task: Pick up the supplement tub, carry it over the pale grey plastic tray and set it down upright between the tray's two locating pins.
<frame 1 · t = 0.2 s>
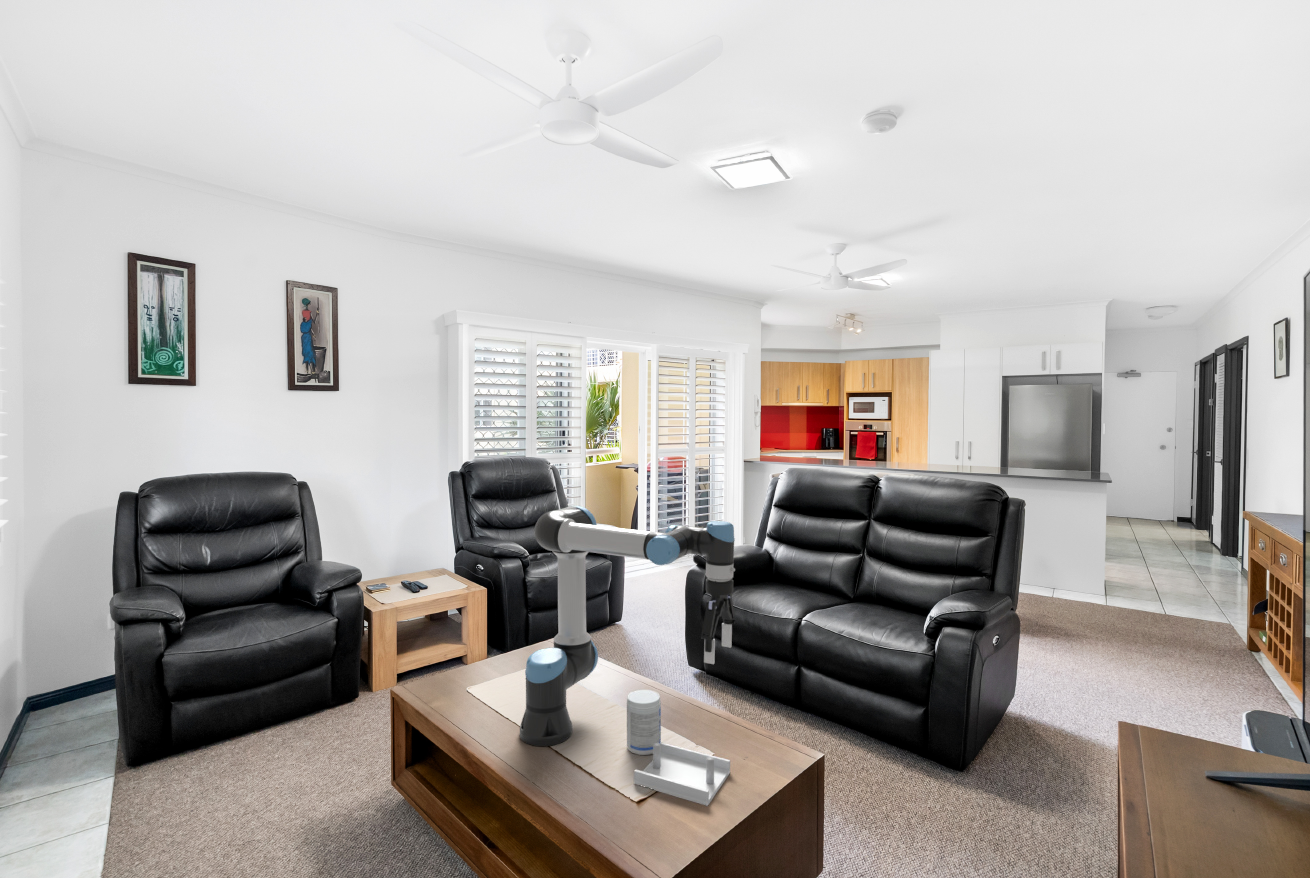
hand: (718, 654, 178), 28 cm above the table, fingers open, 13 cm apart
tray: (682, 778, 166), on the table
supplement tub: (643, 748, 181), on the table
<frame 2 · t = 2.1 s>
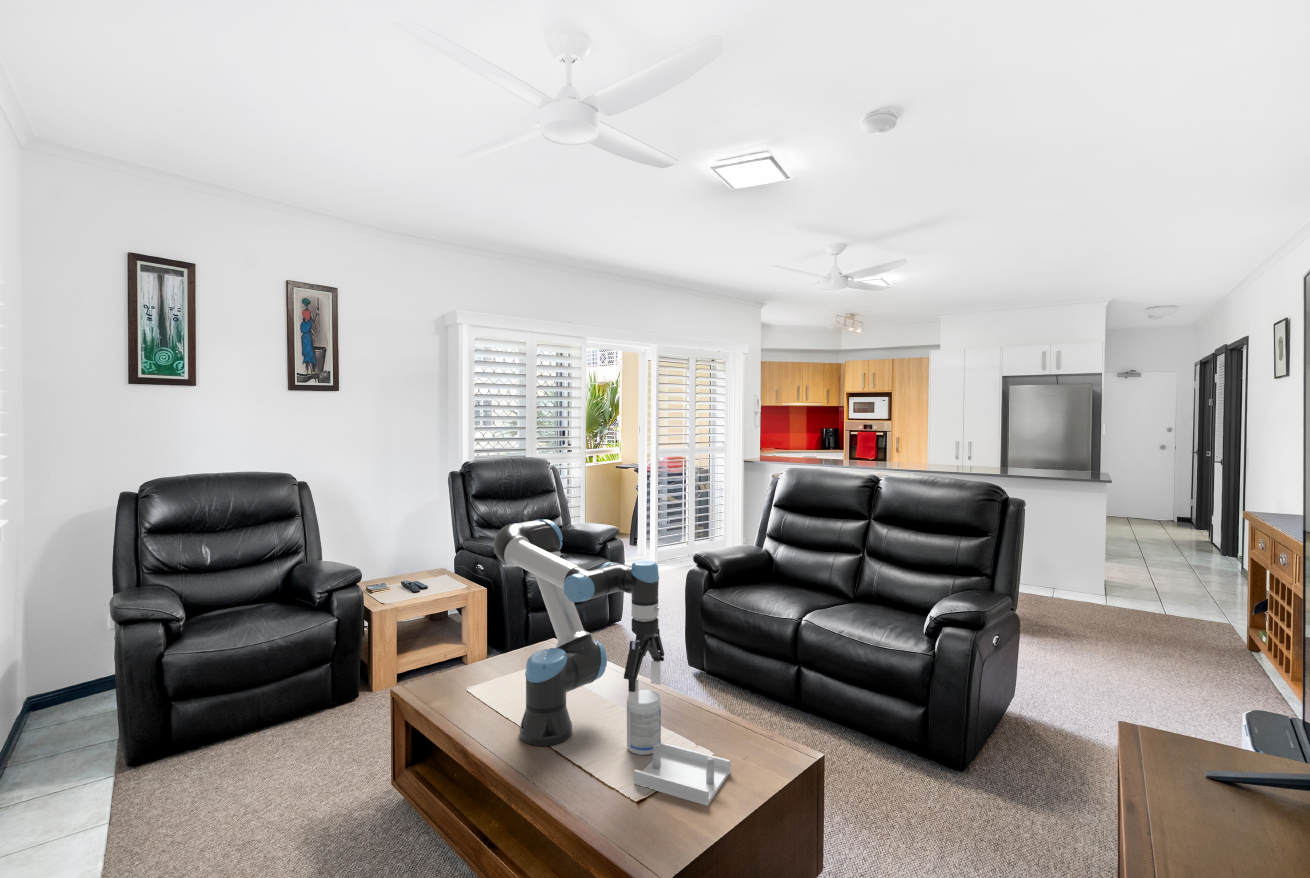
hand: (644, 692, 180), 16 cm above the table, fingers open, 13 cm apart
nothing on the table moved.
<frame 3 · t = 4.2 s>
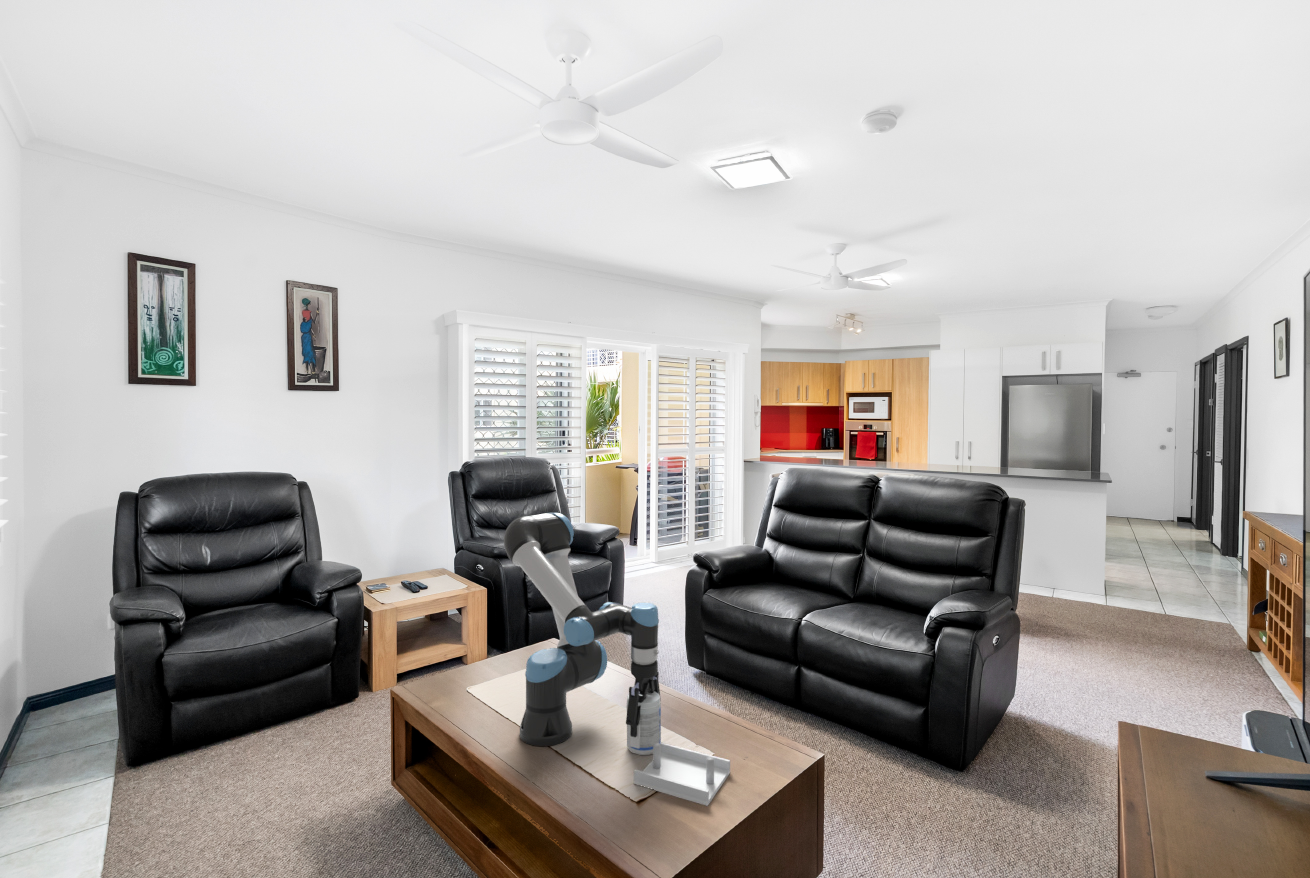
hand: (643, 738, 181), 3 cm above the table, fingers closed on supplement tub, 9 cm apart
supplement tub: (643, 748, 181), on the table, touching gripper
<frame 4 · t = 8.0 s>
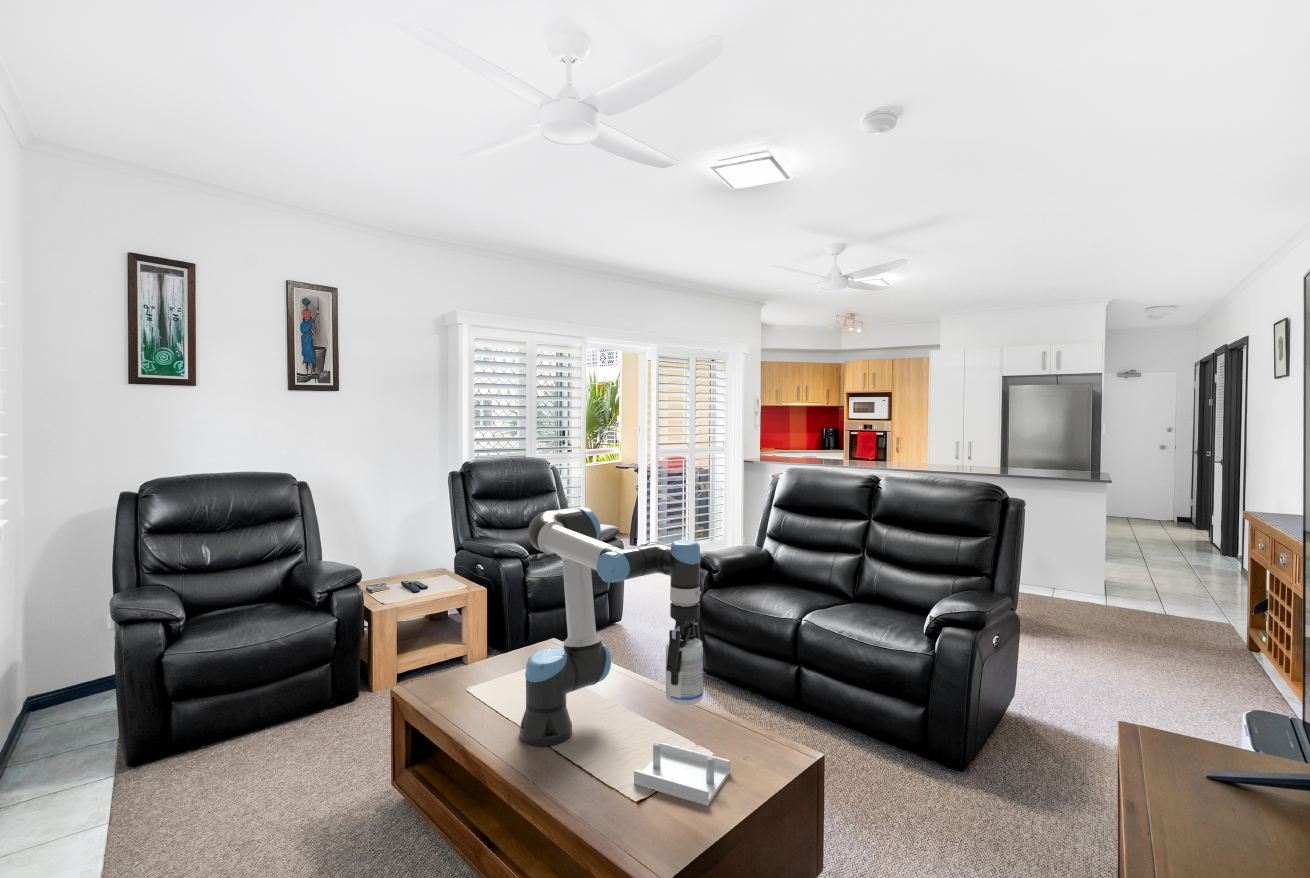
hand: (684, 688, 165), 24 cm above the table, fingers closed on supplement tub, 9 cm apart
supplement tub: (684, 699, 165), point 21 cm above the table, touching gripper
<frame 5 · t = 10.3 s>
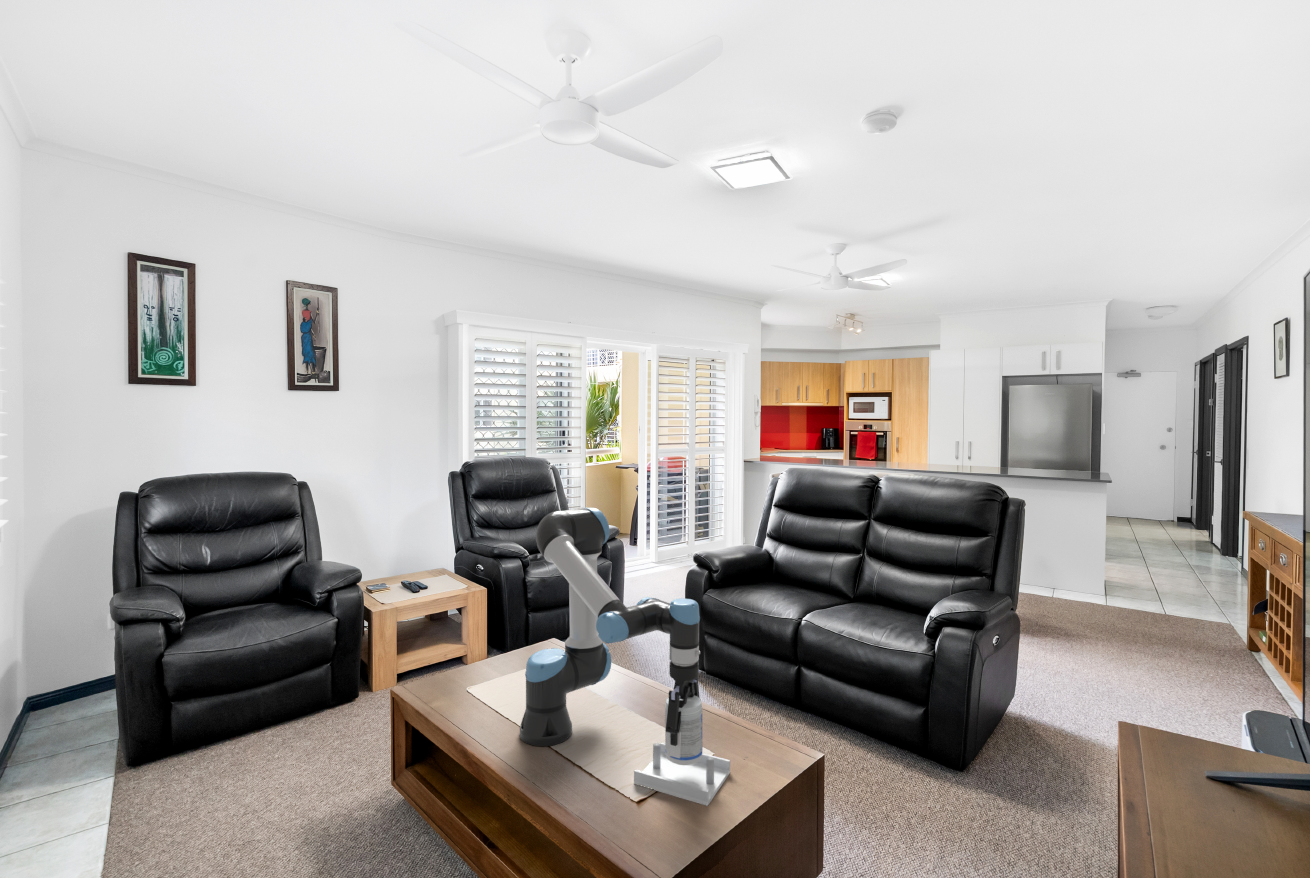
hand: (683, 747, 166), 8 cm above the table, fingers closed on supplement tub, 9 cm apart
supplement tub: (683, 757, 166), point 5 cm above the table, touching gripper
when the fingers open (5 cm above the table, at t = 12.1 s): supplement tub drops 1 cm, resting on tray.
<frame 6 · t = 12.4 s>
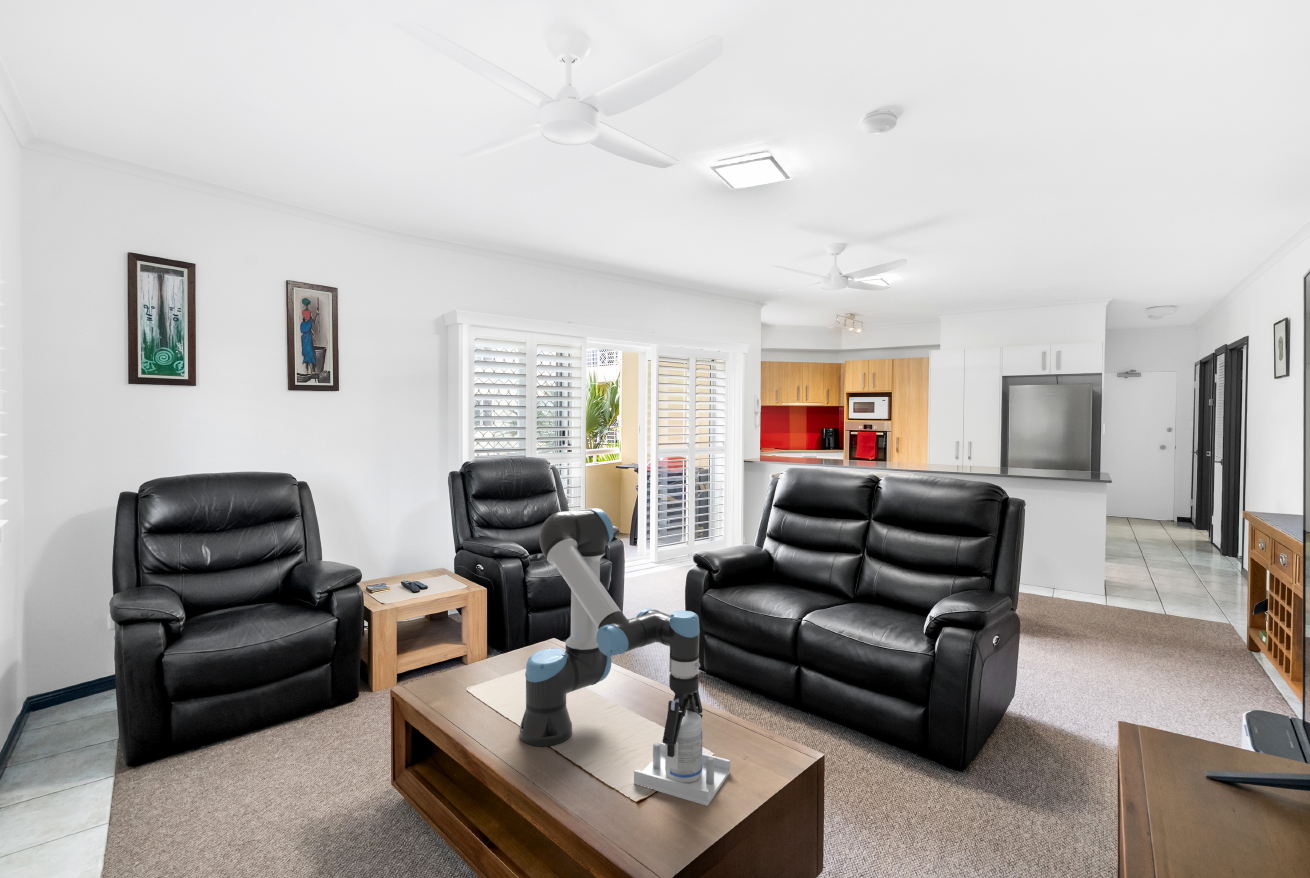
hand: (683, 755, 166), 6 cm above the table, fingers open, 13 cm apart
supplement tub: (683, 774, 166), point 1 cm above the table, touching tray
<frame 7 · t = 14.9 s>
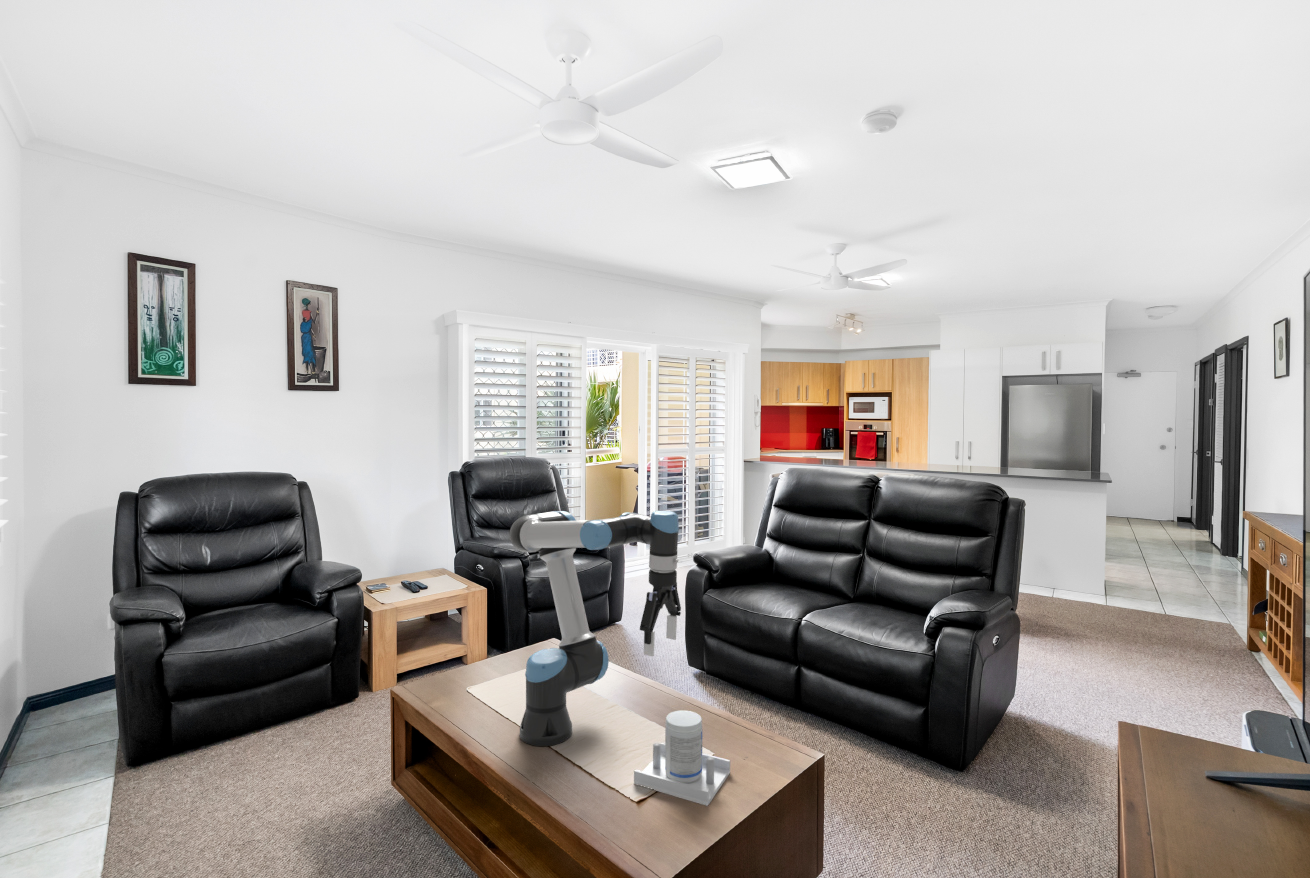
hand: (660, 646, 175), 31 cm above the table, fingers open, 13 cm apart
nothing on the table moved.
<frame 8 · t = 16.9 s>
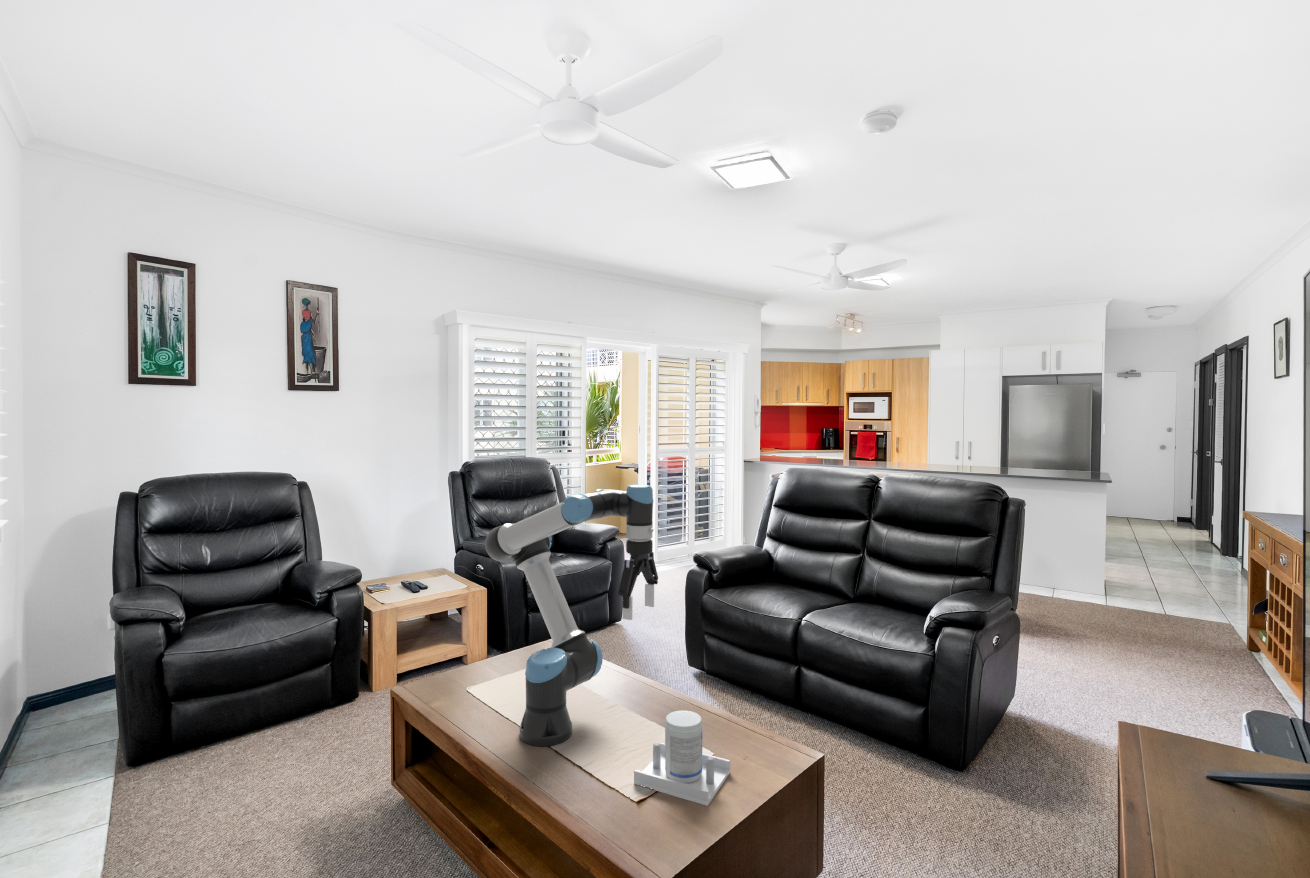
hand: (638, 612, 185), 37 cm above the table, fingers open, 13 cm apart
nothing on the table moved.
at the end: supplement tub inside the target area on the tray (0.3 cm from its centre), point 0.8 cm above the tray's base; supplement tub tilted 0°; the gripper is holding nothing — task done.
